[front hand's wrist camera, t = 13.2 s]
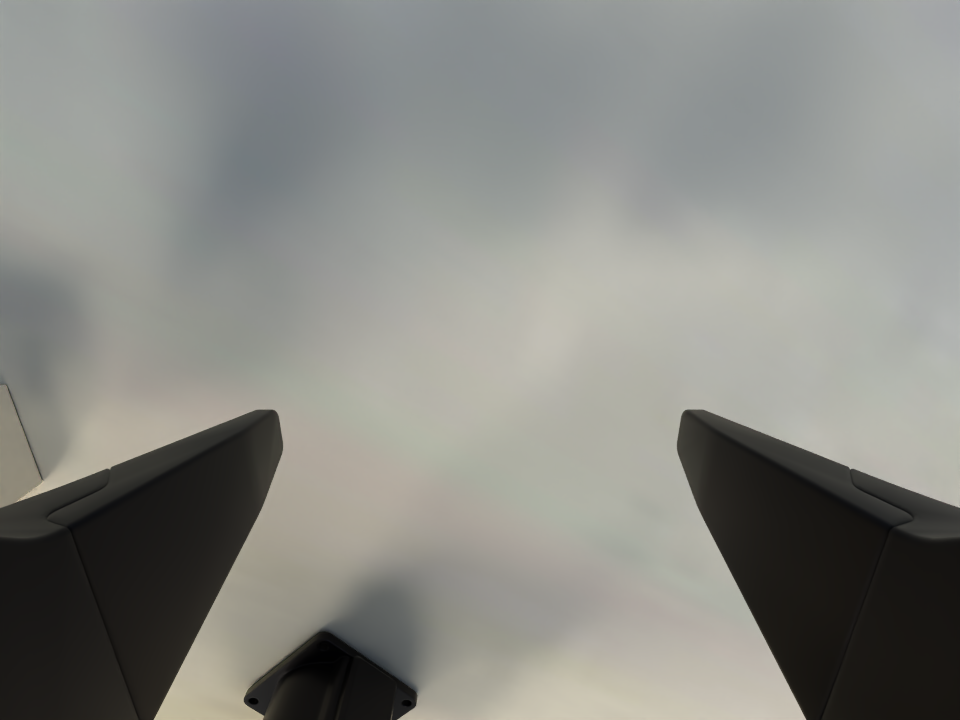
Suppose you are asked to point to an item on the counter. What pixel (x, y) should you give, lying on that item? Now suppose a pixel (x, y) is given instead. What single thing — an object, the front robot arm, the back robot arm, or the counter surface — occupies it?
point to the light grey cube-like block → (14, 455)
